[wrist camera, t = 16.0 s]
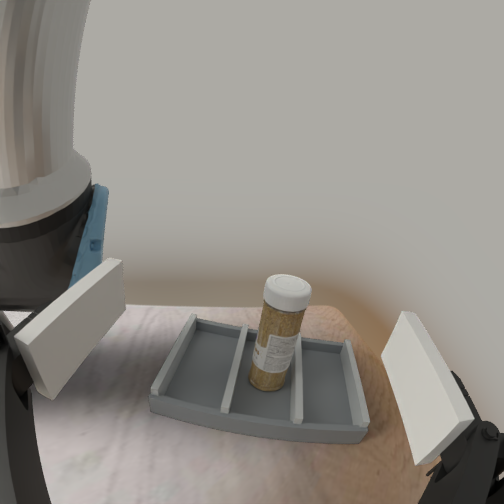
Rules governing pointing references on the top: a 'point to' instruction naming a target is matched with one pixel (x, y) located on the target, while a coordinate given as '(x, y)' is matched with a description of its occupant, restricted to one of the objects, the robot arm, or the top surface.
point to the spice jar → (278, 330)
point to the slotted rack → (257, 401)
